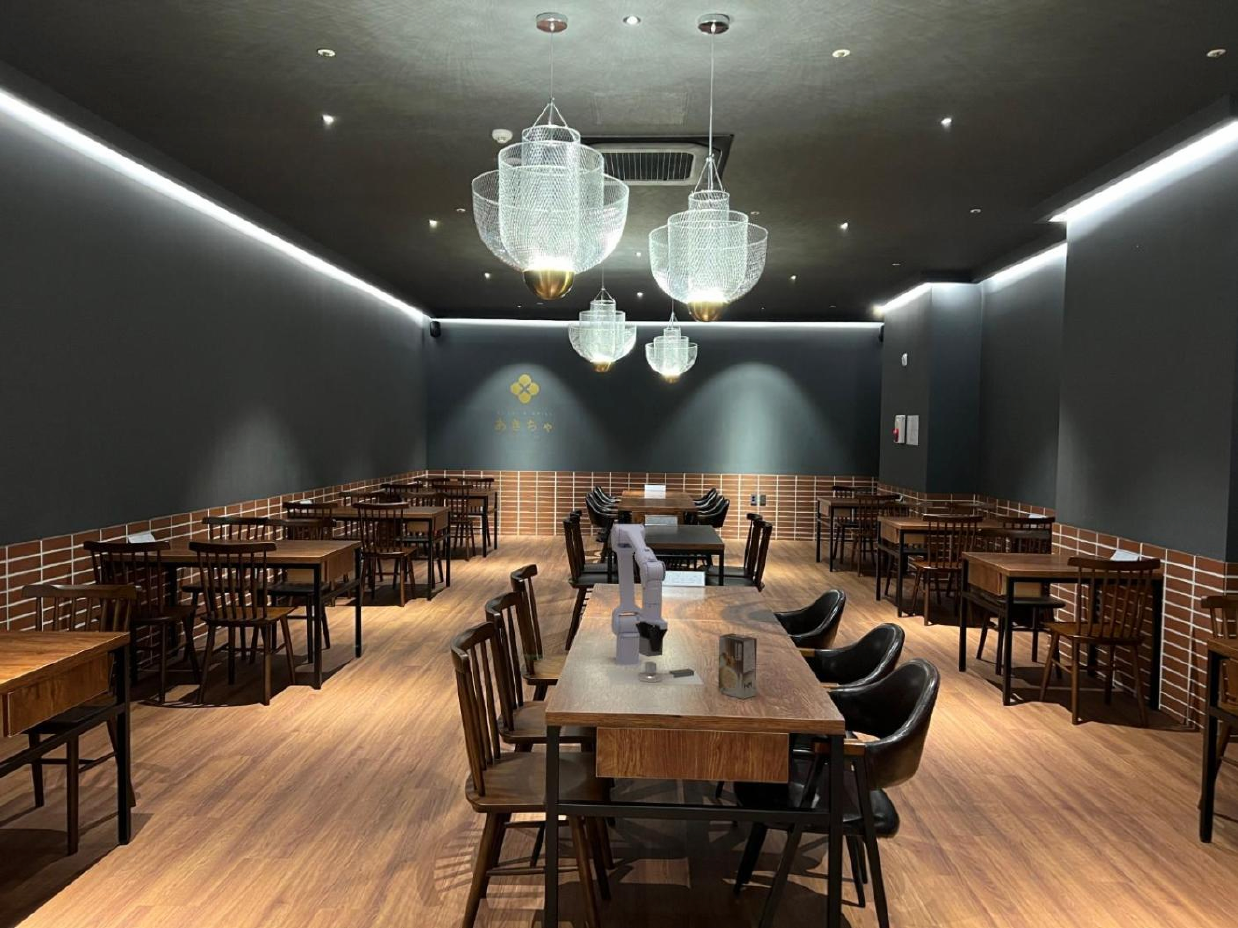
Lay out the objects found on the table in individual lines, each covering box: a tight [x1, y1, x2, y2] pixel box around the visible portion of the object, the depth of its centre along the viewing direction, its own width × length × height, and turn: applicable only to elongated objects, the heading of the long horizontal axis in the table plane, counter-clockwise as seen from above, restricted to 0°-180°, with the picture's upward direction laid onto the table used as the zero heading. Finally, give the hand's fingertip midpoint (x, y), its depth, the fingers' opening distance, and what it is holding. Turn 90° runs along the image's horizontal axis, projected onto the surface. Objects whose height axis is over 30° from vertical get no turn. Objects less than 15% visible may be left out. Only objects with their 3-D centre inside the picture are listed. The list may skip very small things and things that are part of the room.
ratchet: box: [638, 661, 694, 683], centre depth 258 cm, size 7×18×5 cm, turn 119°
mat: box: [606, 669, 705, 685], centre depth 259 cm, size 16×27×1 cm, turn 94°
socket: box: [639, 635, 664, 658], centre depth 255 cm, size 5×5×5 cm
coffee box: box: [717, 633, 758, 700], centre depth 244 cm, size 9×6×16 cm
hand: (650, 649), depth 255 cm, fingers closed on socket, 5 cm apart
